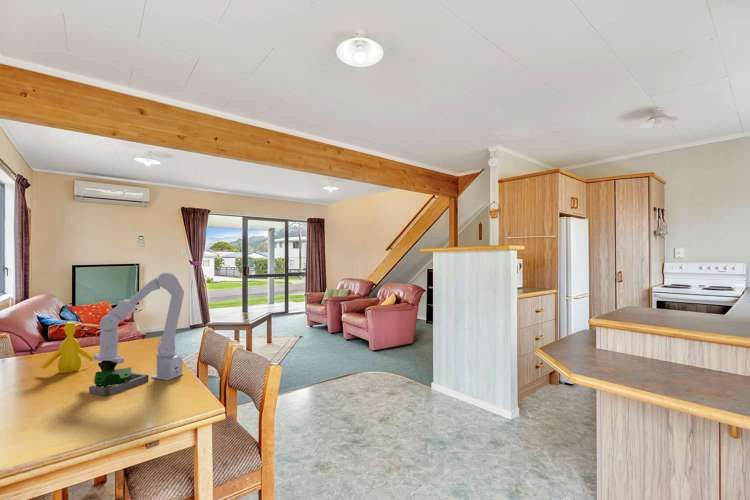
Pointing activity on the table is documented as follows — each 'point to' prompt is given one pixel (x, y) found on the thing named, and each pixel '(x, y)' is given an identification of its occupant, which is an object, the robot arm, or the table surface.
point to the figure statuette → (68, 352)
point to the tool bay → (119, 385)
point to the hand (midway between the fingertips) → (107, 379)
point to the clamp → (112, 377)
